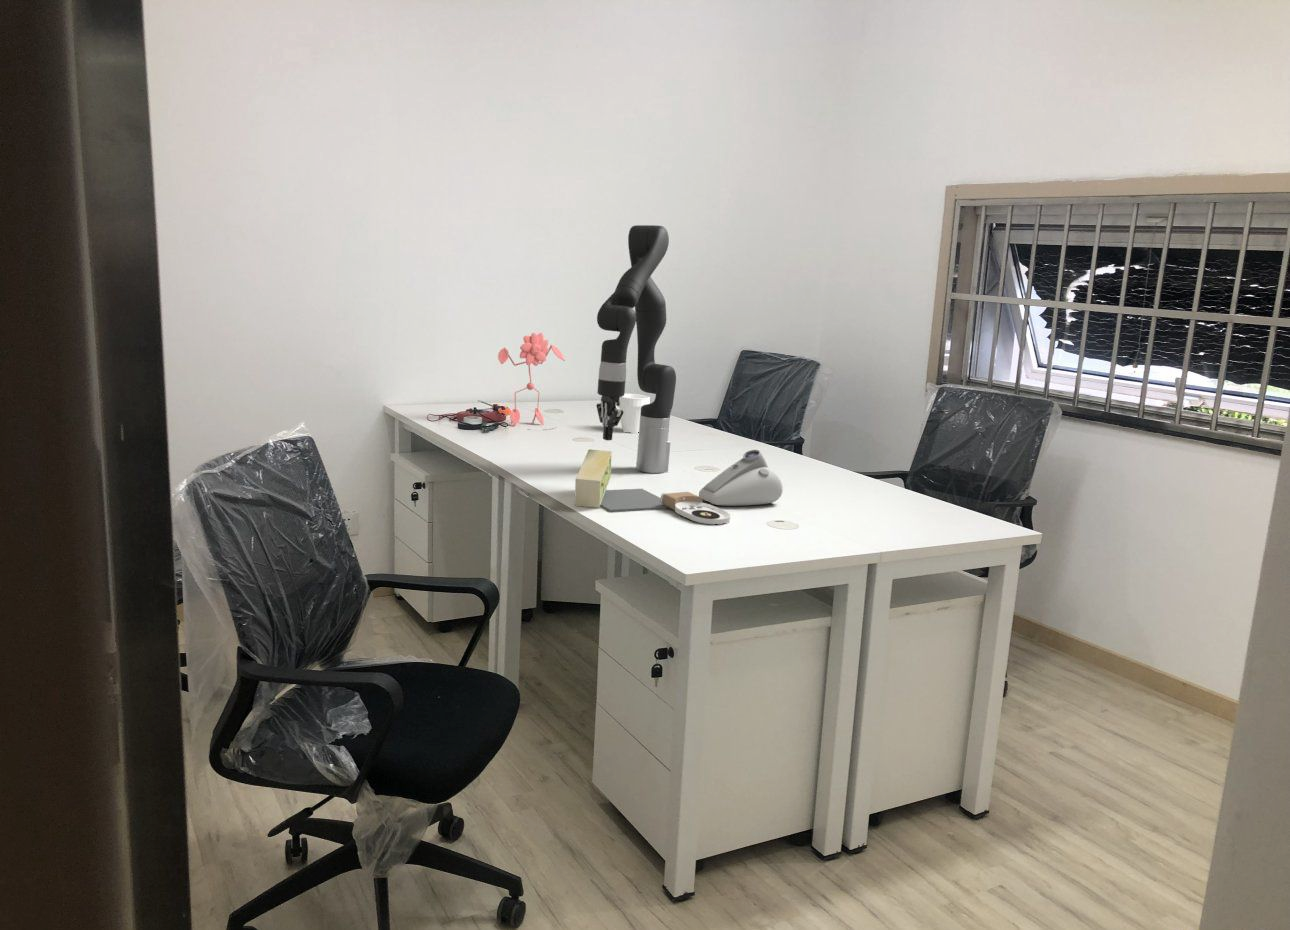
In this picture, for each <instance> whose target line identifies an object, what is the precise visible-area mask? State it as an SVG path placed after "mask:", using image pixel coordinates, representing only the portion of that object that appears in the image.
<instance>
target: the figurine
mask: <svg viewBox="0 0 1290 930" xmlns="http://www.w3.org/2000/svg"><path fill="white" fill-rule="evenodd" d="M523 342H524V343H523V344H521V345H520V347H519V349H520V350H521V351H520V353H519V358H520V359H525V361H522V362H519V363H515V362H514V360H513V359H512V358H511V356H510V354H509V350H508V349H507V348H506V347H503V348H502V349H500V350H499V352H498V355H497V359H498V361H499V363H500V364H501V365H503V364H505V363H506V362H507V361H508V359H509V360H510V362H511V363H512V364H513V365H514V367H516V366H519V365H523V364H525V365H527V366H528V374H529V382H528V383H527V384H526V387H525V388H522V389H520V390H517V391H515V392H514V408H513V409H512V410H511V412H510V416H509V418H510V424H511V425H513V426H514V427H515V426H516V425H517V424H519V422H520V420H521V413H520V411H519V409H518V408H517V398H516V396H517V395H516V394H517V393H519V392H521V391H524V390H529V391H532V390H533V389H534V391H536V392H537V393H538V395H537V408H535V409H534V416H533V419H532V422H531V423H532V424H534V423H535V420H536V419H537V420H538V421H539V423H541V424H542V425H544V424H545V423H544V417H543V414H542V412H541V411H540V410H539V403H540V392H539V391H538V390H537V388H536V387H535V385H534V384H533V382H532V375H531V365H533V366H535V367H537V366H538V365H543V363H544V362H545V361H547V356H548V355H549V352H550V351H551V350H552V351H553V354H555V356H556V357H558V359H561V360H562V361H565V357H564V354H563V353H562V351H560V349H559V348H558V347H556V346H555V345H553V344H550V346H549V347H548V345H549V339H544V334H543V332H540V333H538V334H536V333H535V332H532V333H531V335H525V336H523ZM553 428H554V427H553ZM553 428H551V430H554V429H553ZM556 428H557V426H556ZM548 429H549V428H545V429H544V431H547V430H548ZM527 431H530V429H527ZM548 431H549V430H548Z"/></svg>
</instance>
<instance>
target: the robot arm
mask: <svg viewBox="0 0 1290 930" xmlns="http://www.w3.org/2000/svg"><path fill="white" fill-rule="evenodd" d="M668 233H669V232H668V230H667V229H666V228H665V227H664V226H663V225H656V224H655V225H649V224H646V225H645V224H643V225H640V224H639V225H638V224H637V225H632V226H631V227H630V228H629V232H628V236H627V237H628V238H627V244H628V252H629V259H630V268H628V269H627V270H626V271H625V272H624V273H623V274H622V276H621V277H620V279H619V280H618V283H617V285H616V287H615V290H614V292H613V293H612V294H611V295H610V296H609V297H608V298H607V299H606V300H605V301H604V302H603V303H602V304H601V306H600V308H599V309H598V312H597V314H596V315H597V316H596V322H597V326H598V327H599V328H600V329H601V330H603V331H609V332H617V333H618V336H617V337H616V338H612V339H606V340H604V341H602V343H601V353H600V364H599V370H598V381H597V395H599V396H601V398H600V403H596V409H597V415H598V419H599V422H600V423H601V425H602V426H603V432H602V433H603V434H602V439H603V440H605V441H612V440H613V434H614V433H613V430H614V428H615V427H618V425H619V423H620V422H621V417H622V415H623V410H620V408H619V406H620V401H619V398H620V397H622V396H624V394H626V393H625V391H626V382H627V381H626V379H627V378H626V377H627V355H628V354H627V353H628V347H629V344H630V340H631V337H632V334H633V331H634V329H635V326H636V336H637V369H636V370H637V372H636V373H637V374H636V376H637V384H638V387H639V389H640V390H641V391H642V392H644V393H648V394H651V395H655V397H654V400H653V401H652V402H651V403H650V404H646V405H643V406H642V407H641V413H640V414H641V415H640V425H639V433H638V438H637V452H636V461H635V463H636V465H635V467H636V468H635V469H636V471H639V472H643V473H651V474H661V473H662V474H663V473H666V472H669V464H670V463H669V462H670V452H671V441H670V440H669V432H670V424H671V423H670V422H671V412H672V409H673V406H674V405H673V404H674V398H675V393H676V391H675V390H676V387H677V386H676V385H677V373H676V370H675V369H674V368H673V366H670V365H666V364H659V363H656V360H655V352H656V351H655V349H656V345H657V342H658V341H659V339H660V338H661V335H662V333H663V332H664V330H665V327H666V324H667V307H666V300H665V297H664V295H663V293H662V292H661V290H660V288H659V287H658V285H657V283H655V281H654V280H653V278H652V274H653V273H654V272H655V271H656V269H657V268H658V266H659V265H660V263H661V262H662V260H663V259H664V257H665V255H666V254H667V251H668V249H669V243H670V240H669V238H670V237H669V234H668Z"/></svg>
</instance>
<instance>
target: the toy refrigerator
mask: <svg viewBox="0 0 1290 930" xmlns="http://www.w3.org/2000/svg"><path fill="white" fill-rule="evenodd" d="M612 453H613V452H612V451H611V450H601V449H588V450H587V453H586V455H585V456H584V459H583V462H582V463H581V465H580V468H579V470H578V472H577V475H576V477H575V483H574V484H575V486H574V488H575V491H574V493H575V495H574V503H575V504H574V506H577V507H585V508H595V509H596V508H597V509H598V508H601V507H600V505H601V502H602V500H603V497H604V494H605V491H606V490H608V486H609V483H610V480H611V478H612Z"/></svg>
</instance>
